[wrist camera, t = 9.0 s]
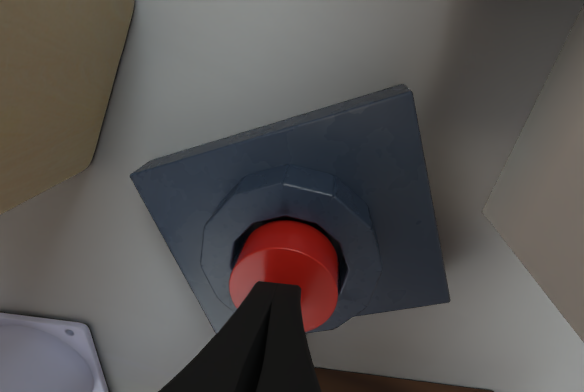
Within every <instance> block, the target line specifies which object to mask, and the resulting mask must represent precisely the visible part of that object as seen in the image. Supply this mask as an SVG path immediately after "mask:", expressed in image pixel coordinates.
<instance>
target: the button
mask: <svg viewBox="0 0 584 392" xmlns="http://www.w3.org/2000/svg"><path fill="white" fill-rule="evenodd" d="M258 281H264V282H273V283H283V284H292V285H298V286H299V287H300V288H301V311H302V319H303V325H304V330H305V332H307V331H310V330H313V329H315V328H317V327H319V326H320V325H322V324H323V323H324V322H326V321H327V320H328V319H329V318H330V316H331V315H332V313H333V312H334V310H335V308H336V305H337V301H338V257H337V253H336V251H335V249H334V247H333V245H332V243H331V242H330V241H329V239H328V238H327V237H326V236H325V235H324V234H323V233H321V232H320V231H319V230H317V229H316V228H314V227H312V226H310V225H308V224H305V223H302V222H298V221H292V220H279V221H273V222H270V223H267V224H264V225H262V226H260V227H259V228H257V229H256V230H254V231H253V232H252V233H251V234H250V235H249V236H248V238H247V239H246V241H245V243H244V245H243V247H242V250H241V252H240V254H239V256H238V259H237V261H236V263H235V265H234V268H233V270H232V272H231V275H230V279H229V292H230V296H231V299H232V301H233V303H234V305H235V307H236V308H238V307H239V306H240V305H241V303H242V302H243V300H244V299H245V298H246V296H247V295H248V294H249V292H250V291H251V289H252V288H253V286H254V285H255V283H257V282H258Z"/></svg>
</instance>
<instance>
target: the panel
mask: <svg viewBox="0 0 584 392" xmlns="http://www.w3.org/2000/svg"><path fill="white" fill-rule="evenodd" d="M314 369H315V373H316V376H317V379H318V382H319V385H320V388H321V391H322V392H494V391H490V390H483V389H475V388H467V387H460V386H452V385H444V384H437V383H429V382H421V381H414V380H406V379H398V378H391V377H383V376H375V375H368V374H360V373H352V372H344V371H337V370H329V369H321V368H314Z"/></svg>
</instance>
